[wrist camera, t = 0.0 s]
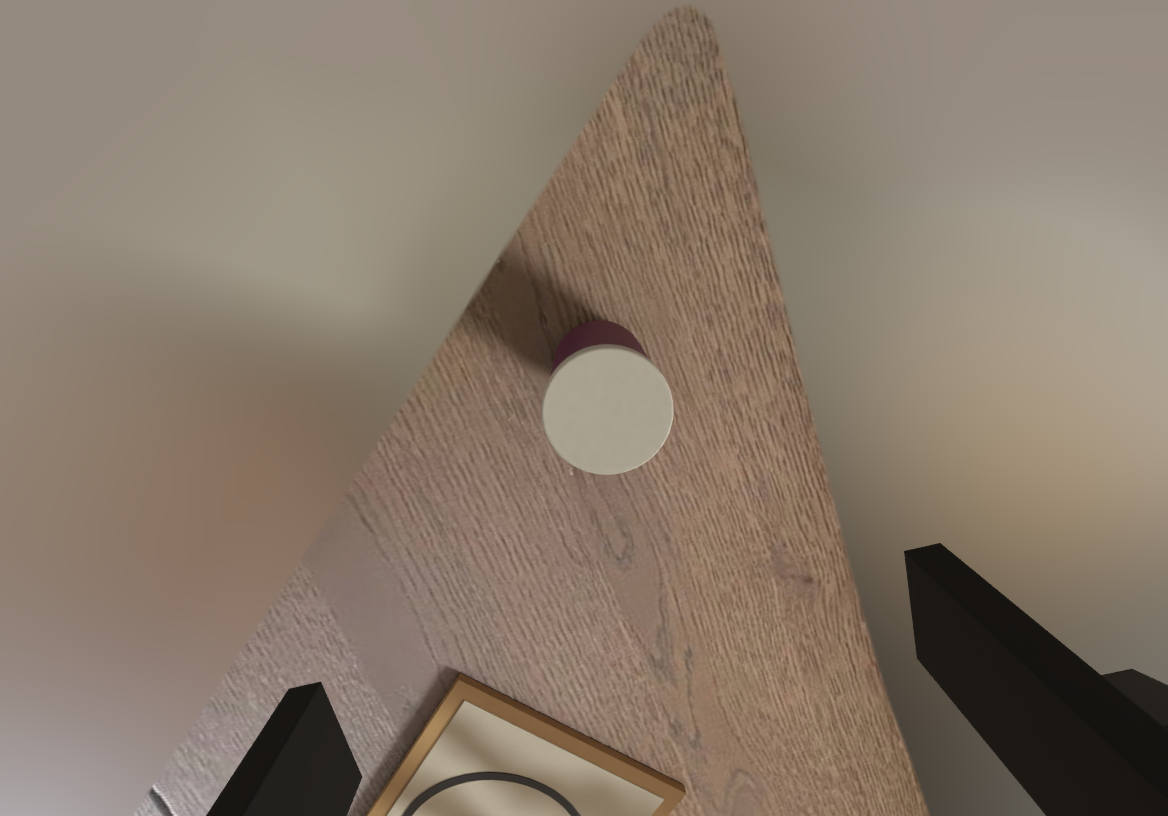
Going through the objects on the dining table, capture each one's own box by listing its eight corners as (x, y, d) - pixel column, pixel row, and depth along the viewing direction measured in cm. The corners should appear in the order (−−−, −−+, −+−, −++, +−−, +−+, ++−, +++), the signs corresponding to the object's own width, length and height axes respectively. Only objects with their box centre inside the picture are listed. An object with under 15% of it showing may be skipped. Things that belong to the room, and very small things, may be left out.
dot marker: (583, 296, 30) (586, 321, 20) (660, 345, 30) (699, 392, 21) (535, 374, 31) (516, 434, 21) (612, 419, 31) (627, 497, 22)
